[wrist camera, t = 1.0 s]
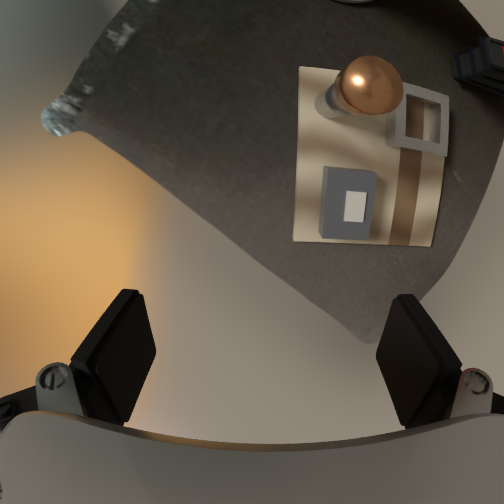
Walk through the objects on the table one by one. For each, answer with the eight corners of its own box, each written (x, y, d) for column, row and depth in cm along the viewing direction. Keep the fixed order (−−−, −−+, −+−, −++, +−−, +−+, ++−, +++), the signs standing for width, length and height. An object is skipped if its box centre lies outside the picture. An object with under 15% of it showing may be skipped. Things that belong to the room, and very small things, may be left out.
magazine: (521, 105, 20) (570, 96, 8) (447, 87, 26) (473, 62, 14) (519, 81, 19) (564, 64, 7) (444, 63, 25) (466, 28, 13)
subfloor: (298, 68, 25) (299, 66, 24) (442, 97, 24) (446, 97, 23) (292, 238, 32) (293, 241, 31) (426, 243, 31) (430, 246, 31)
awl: (310, 85, 24) (345, 50, 12) (346, 89, 24) (402, 63, 12) (310, 120, 26) (346, 109, 14) (345, 124, 26) (403, 119, 14)
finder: (321, 165, 28) (328, 168, 25) (366, 169, 28) (377, 173, 24) (317, 229, 30) (322, 239, 27) (359, 231, 30) (369, 241, 27)
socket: (386, 83, 24) (396, 80, 21) (437, 97, 23) (448, 96, 21) (384, 144, 26) (394, 145, 24) (435, 154, 26) (447, 156, 24)
